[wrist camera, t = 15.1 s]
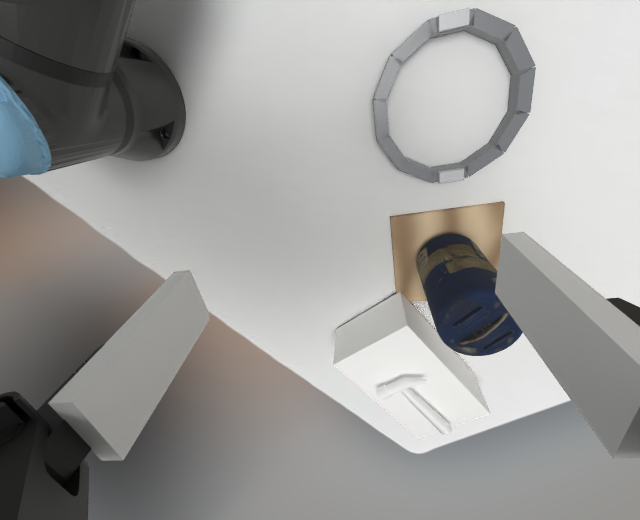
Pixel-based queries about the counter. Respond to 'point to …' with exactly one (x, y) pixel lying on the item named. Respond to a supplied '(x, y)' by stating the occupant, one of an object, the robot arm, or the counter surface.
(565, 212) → the counter surface
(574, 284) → the robot arm
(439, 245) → the canister
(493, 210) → the mat
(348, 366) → the tissue box
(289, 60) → the counter surface
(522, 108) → the collar
